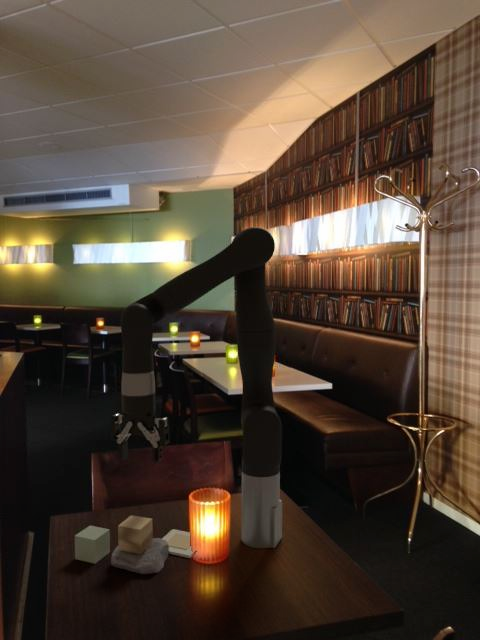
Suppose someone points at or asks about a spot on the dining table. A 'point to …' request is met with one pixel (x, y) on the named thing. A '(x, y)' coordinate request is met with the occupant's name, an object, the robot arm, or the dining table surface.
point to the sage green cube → (92, 544)
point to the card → (179, 543)
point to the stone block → (142, 558)
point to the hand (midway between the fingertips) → (140, 460)
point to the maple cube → (135, 534)
